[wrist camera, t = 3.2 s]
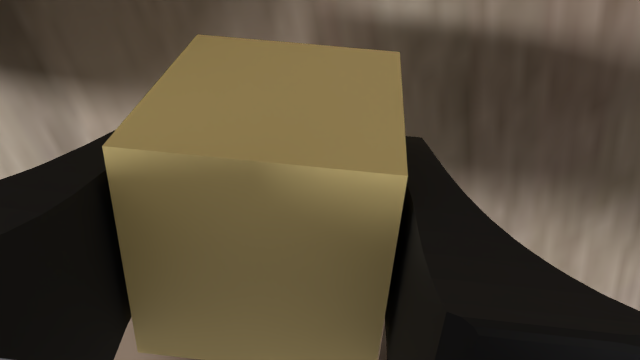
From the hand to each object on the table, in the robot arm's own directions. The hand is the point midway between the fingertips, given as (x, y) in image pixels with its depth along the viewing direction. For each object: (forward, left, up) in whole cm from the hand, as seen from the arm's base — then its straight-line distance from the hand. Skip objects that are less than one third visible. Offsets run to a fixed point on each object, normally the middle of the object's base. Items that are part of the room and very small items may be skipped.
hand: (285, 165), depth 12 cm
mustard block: (0, 0, -2) cm, 2 cm away
